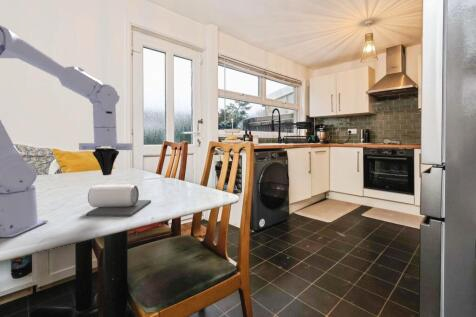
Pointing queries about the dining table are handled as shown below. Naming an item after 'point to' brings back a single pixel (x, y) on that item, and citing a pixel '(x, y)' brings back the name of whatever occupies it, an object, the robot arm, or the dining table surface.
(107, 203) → the can
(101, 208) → the mat
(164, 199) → the dining table surface
